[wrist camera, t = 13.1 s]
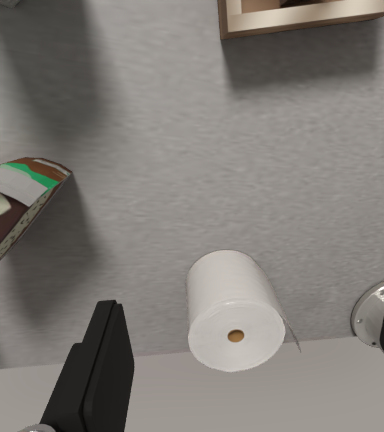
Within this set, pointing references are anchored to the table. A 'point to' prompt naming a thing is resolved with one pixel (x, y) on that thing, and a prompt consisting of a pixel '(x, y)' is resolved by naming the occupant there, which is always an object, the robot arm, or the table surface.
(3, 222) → the food container
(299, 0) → the grey ridged block
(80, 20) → the table surface
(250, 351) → the toilet tissue
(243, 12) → the open wooden box
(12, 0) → the skincare box
